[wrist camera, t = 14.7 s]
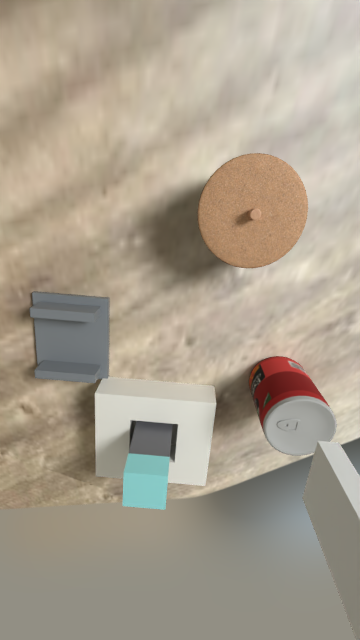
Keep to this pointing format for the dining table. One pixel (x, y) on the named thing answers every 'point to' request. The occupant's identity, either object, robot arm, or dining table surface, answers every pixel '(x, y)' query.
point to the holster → (71, 336)
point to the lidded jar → (252, 210)
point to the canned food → (290, 407)
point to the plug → (148, 466)
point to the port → (155, 406)
